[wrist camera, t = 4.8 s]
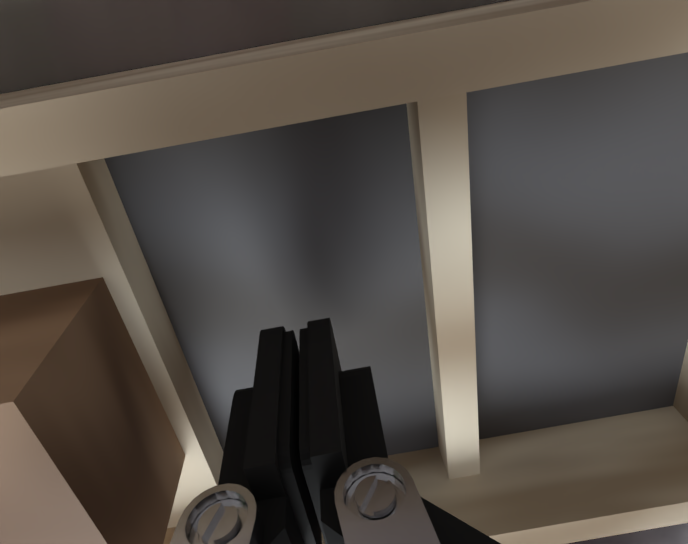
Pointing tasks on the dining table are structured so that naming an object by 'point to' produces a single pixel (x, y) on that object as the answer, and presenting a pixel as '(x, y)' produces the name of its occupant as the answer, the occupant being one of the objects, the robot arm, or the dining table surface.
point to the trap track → (401, 243)
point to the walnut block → (80, 424)
